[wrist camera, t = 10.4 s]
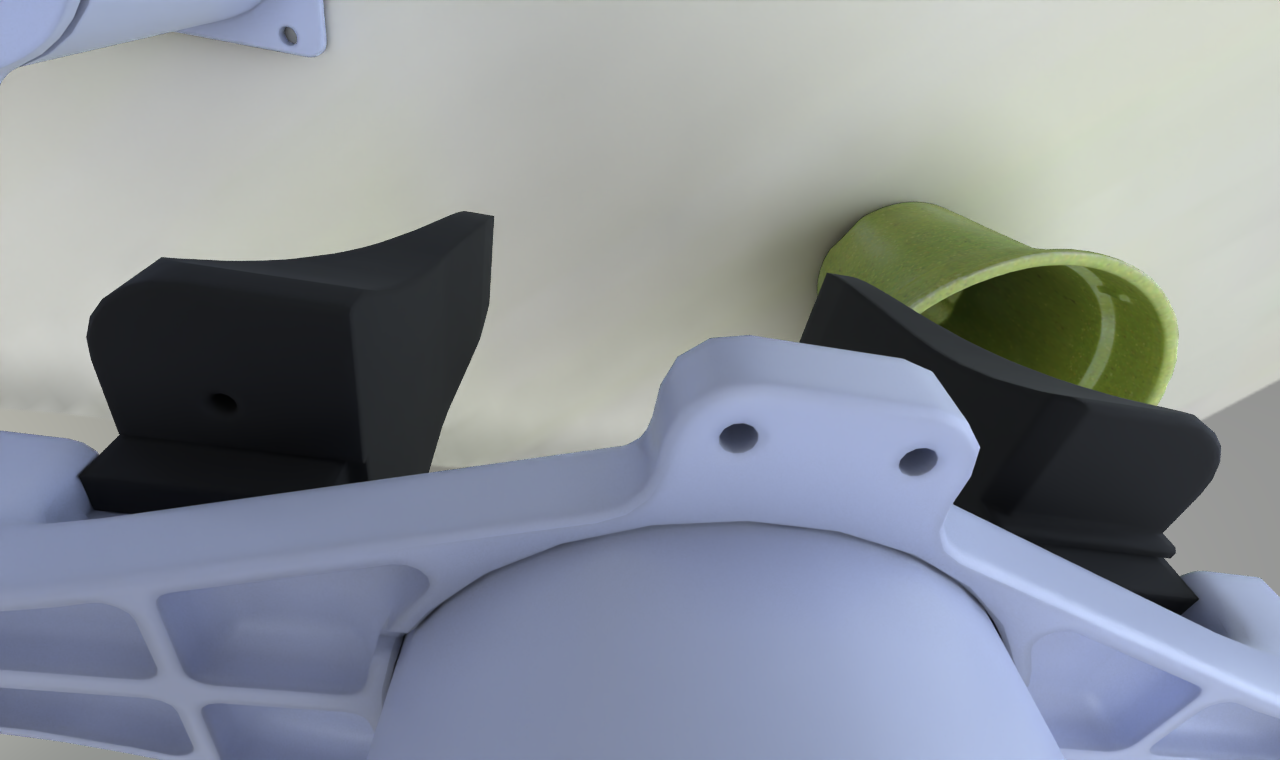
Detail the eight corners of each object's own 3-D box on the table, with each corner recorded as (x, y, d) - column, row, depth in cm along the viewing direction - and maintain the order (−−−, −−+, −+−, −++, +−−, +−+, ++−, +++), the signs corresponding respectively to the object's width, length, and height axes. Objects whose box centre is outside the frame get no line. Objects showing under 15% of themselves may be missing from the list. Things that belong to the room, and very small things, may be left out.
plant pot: (768, 178, 23) (837, 290, 16) (1037, 130, 22) (1236, 225, 15) (778, 384, 28) (833, 536, 21) (994, 350, 27) (1125, 496, 20)
